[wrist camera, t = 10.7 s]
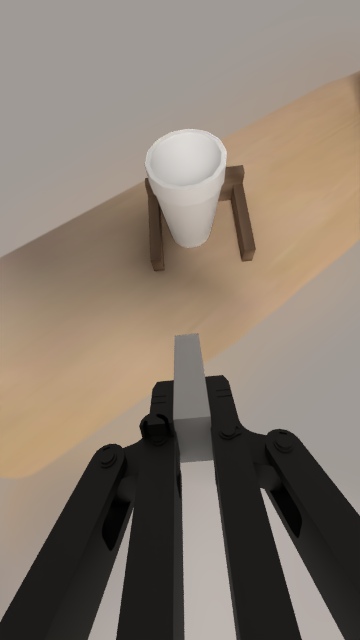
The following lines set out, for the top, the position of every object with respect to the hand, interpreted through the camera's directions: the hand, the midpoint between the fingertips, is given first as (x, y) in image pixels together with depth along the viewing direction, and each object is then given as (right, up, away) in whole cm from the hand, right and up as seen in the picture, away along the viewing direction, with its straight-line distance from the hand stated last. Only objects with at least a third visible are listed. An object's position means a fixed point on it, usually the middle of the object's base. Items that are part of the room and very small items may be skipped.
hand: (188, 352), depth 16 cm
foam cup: (+1, +16, +25) cm, 30 cm away
